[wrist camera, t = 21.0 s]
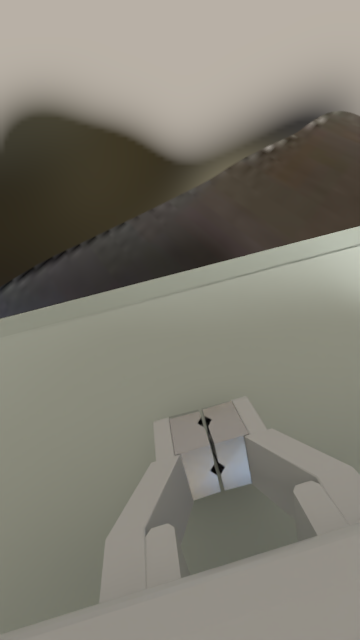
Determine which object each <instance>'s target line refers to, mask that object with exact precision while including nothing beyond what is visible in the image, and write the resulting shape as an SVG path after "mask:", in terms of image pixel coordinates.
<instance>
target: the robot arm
mask: <svg viewBox="0 0 360 640" xmlns="http://www.w3.org/2000/svg"><path fill="white" fill-rule="evenodd" d="M202 413H203V418H204V421H205V424H206V427H207V429H206V430H205V428H204V427H203V422H202V418H201V415H200V412H199V409H198V410H194V411H190V412H186V413H182V414H179V415H175V416H171V417H167V418H163V419H160V420H156V421H154V422H153V430H154V443H155V456H156V461H155V462H152V463H151V464H150V466H149V467H148V469H147V471H146V472H145V474H144V476H143V477H142V479H141V481H140V482H139V484H138V486H137V488H136V489H135V491H134V493H133V494H132V496H131V498H130V499H129V501H128V503H127V504H126V506H125V508H124V509H123V511H122V513H121V515H120V516H119V518H118V520H117V521H116V523H115V525H114V526H113V528H112V530H111V531H110V533H109V535H108V537H107V538H106V540H105V549H104V559H103V569H102V579H101V589H100V599H99V604H96V605H93V606H89V607H86V608H83V609H80V610H77V611H73V612H70V613H67V614H64V615H60V616H57V617H54V618H51V619H48V620H44V621H41V622H38V623H35V624H31V625H28V626H25V627H22V628H19V629H15V630H12V631H9V632H6V633H3V634H0V640H360V475H359V474H358V472H357V471H356V470H355V469H354V468H353V467H352V466H350V465H347V464H345V463H343V462H341V461H339V460H337V459H335V458H333V457H331V456H329V455H327V454H325V453H323V452H320V451H318V450H316V449H314V448H312V447H310V446H308V445H306V444H304V443H302V442H300V441H298V440H296V439H293V438H291V437H289V436H287V435H285V434H283V433H281V432H279V431H277V430H275V429H273V428H271V429H267V428H266V426H265V425H264V423H263V421H262V420H261V418H260V417H259V415H258V413H257V412H256V410H255V409H254V407H253V405H252V404H251V402H250V401H249V399H248V397H246V396H243V397H239V398H236V399H233V400H231V401H227V402H224V403H220V404H217V405H213V406H210V407H206V408H203V409H202ZM206 431H207V434H206ZM207 435H208V437H207ZM208 439H209V440H208ZM211 450H212V451H211ZM212 453H213V455H212ZM213 456H214V459H215V460H216V464H217V468H218V472H219V475H220V478H221V481H222V484H223V487H224V490H229V489H232V488H236V487H240V486H244V485H248V484H251V483H252V484H253V485H254V486H255V487H256V488H257V489H258V490H260V491H261V492H262V493H263V494H264V495H266V496H267V497H268V498H269V499H270V500H272V501H273V502H274V503H275V504H276V505H278V506H279V507H280V508H281V509H282V510H284V511H285V512H286V513H287V514H289V515H290V516H291V517H292V518H293V519H295V520H296V528H297V539H298V542H296V543H292V544H289V545H286V546H283V547H280V548H276V549H273V550H270V551H267V552H264V553H260V554H257V555H254V556H251V557H248V558H244V559H241V560H238V561H235V562H232V563H228V564H225V565H222V566H219V567H215V568H212V569H209V570H206V571H202V572H199V573H196V574H193V575H190V573H189V570H188V567H187V564H186V561H185V558H184V555H183V552H182V549H181V543H182V540H183V537H184V533H185V530H186V527H187V523H188V520H189V517H190V513H191V510H192V507H193V504H194V500H197V499H200V498H203V497H206V496H209V495H212V494H215V493H218V492H221V491H220V486H219V481H218V477H217V473H216V470H215V467H214V459H213Z"/></svg>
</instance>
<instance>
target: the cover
mask: <svg viewBox="0 0 360 640" xmlns="http://www.w3.org/2000/svg"><path fill="white" fill-rule="evenodd" d="M243 396H246V397H248V399H249V401H250V402H251V404H252V405H253V407H254V409H255V410H256V412H257V413H258V415H259V417H260V418H261V420H262V421H263V423H264V425H265V426H266V428H267V429H271V428H273V429H275V430H277V431H279V432H281V433H283V434H285V435H287V436H289V437H291V438H293V439H296V440H298V441H300V442H302V443H304V444H306V445H308V446H310V447H312V448H314V449H316V450H318V451H320V452H323V453H325V454H327V455H329V456H331V457H333V458H335V459H337V460H339V461H341V462H343V463H345V464H347V465H350V466H352V467H353V468H354V469H355V470H356V471H357V472H358V474H359V475H360V226H359V227H355V228H351V229H347V230H343V231H339V232H336V233H332V234H328V235H324V236H320V237H316V238H312V239H308V240H304V241H301V242H297V243H293V244H289V245H285V246H281V247H277V248H273V249H270V250H266V251H262V252H258V253H254V254H250V255H246V256H242V257H238V258H235V259H231V260H227V261H223V262H219V263H215V264H211V265H207V266H204V267H200V268H196V269H192V270H188V271H184V272H180V273H176V274H172V275H169V276H165V277H161V278H157V279H153V280H149V281H145V282H141V283H138V284H134V285H130V286H126V287H122V288H118V289H114V290H110V291H106V292H103V293H99V294H95V295H91V296H87V297H83V298H79V299H75V300H72V301H68V302H64V303H60V304H56V305H52V306H48V307H44V308H40V309H37V310H33V311H29V312H25V313H21V314H17V315H13V316H9V317H6V318H2V319H0V634H3V633H6V632H9V631H12V630H15V629H19V628H22V627H25V626H28V625H31V624H35V623H38V622H41V621H44V620H48V619H51V618H54V617H57V616H60V615H64V614H67V613H70V612H73V611H77V610H80V609H83V608H86V607H89V606H93V605H96V604H99V599H100V589H101V579H102V569H103V559H104V549H105V540H106V538H107V537H108V535H109V533H110V531H111V530H112V528H113V526H114V525H115V523H116V521H117V520H118V518H119V516H120V515H121V513H122V511H123V509H124V508H125V506H126V504H127V503H128V501H129V499H130V498H131V496H132V494H133V493H134V491H135V489H136V488H137V486H138V484H139V482H140V481H141V479H142V477H143V476H144V474H145V472H146V471H147V469H148V467H149V466H150V464H151V463H152V462H155V461H156V456H155V443H154V430H153V422H154V421H156V420H160V419H163V418H167V417H171V416H175V415H179V414H182V413H186V412H190V411H194V410H198V409H199V412H200V415H201V418H202V422H203V427H204V428H205V430H206V429H207V427H206V424H205V421H204V418H203V413H202V409H203V408H206V407H210V406H213V405H217V404H220V403H224V402H227V401H231V400H233V399H236V398H239V397H243ZM206 434H207V431H206ZM207 437H208V435H207ZM208 440H209V439H208ZM211 451H212V450H211ZM212 455H213V453H212ZM213 459H214V456H213ZM214 467H215V470H216V473H217V477H218V481H219V486H220V491H221V492H218V493H215V494H212V495H209V496H206V497H203V498H200V499H197V500H194V504H193V507H192V510H191V513H190V517H189V520H188V523H187V527H186V530H185V533H184V537H183V540H182V543H181V549H182V552H183V555H184V558H185V561H186V564H187V567H188V570H189V573H190V575H193V574H196V573H199V572H202V571H206V570H209V569H212V568H215V567H219V566H222V565H225V564H228V563H232V562H235V561H238V560H241V559H244V558H248V557H251V556H254V555H257V554H260V553H264V552H267V551H270V550H273V549H276V548H280V547H283V546H286V545H289V544H292V543H296V542H298V539H297V528H296V520H295V519H293V518H292V517H291V516H290V515H289V514H287V513H286V512H285V511H284V510H282V509H281V508H280V507H279V506H278V505H276V504H275V503H274V502H273V501H272V500H270V499H269V498H268V497H267V496H266V495H264V494H263V493H262V492H261V491H260V490H258V489H257V488H256V487H255V486H254V485H253V484H252V483H251V484H248V485H244V486H240V487H236V488H232V489H229V490H224V487H223V484H222V481H221V478H220V475H219V472H218V468H217V464H216V460H215V459H214Z"/></svg>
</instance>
